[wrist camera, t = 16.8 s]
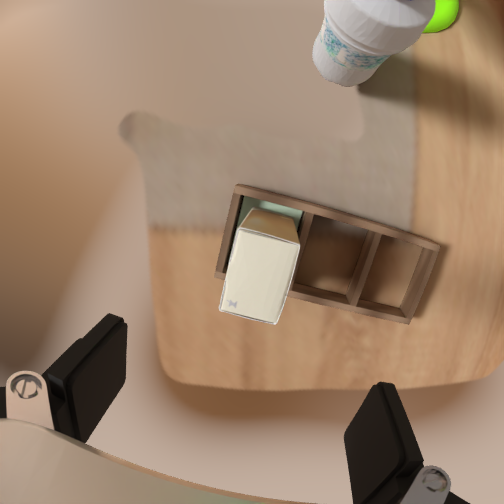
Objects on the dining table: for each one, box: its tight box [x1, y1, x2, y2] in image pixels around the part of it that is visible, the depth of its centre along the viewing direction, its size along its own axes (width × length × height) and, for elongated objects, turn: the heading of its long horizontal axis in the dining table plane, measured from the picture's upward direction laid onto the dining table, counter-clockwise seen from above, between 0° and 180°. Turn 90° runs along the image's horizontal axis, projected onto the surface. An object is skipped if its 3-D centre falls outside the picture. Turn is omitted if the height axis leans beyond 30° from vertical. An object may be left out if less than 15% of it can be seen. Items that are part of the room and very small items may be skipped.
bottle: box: [313, 0, 436, 87], centre depth 18 cm, size 7×7×20 cm
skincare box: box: [219, 206, 300, 324], centre depth 27 cm, size 6×4×12 cm
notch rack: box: [214, 184, 441, 325], centre depth 32 cm, size 22×9×2 cm, turn 76°
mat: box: [228, 196, 302, 264], centre depth 33 cm, size 6×7×1 cm
